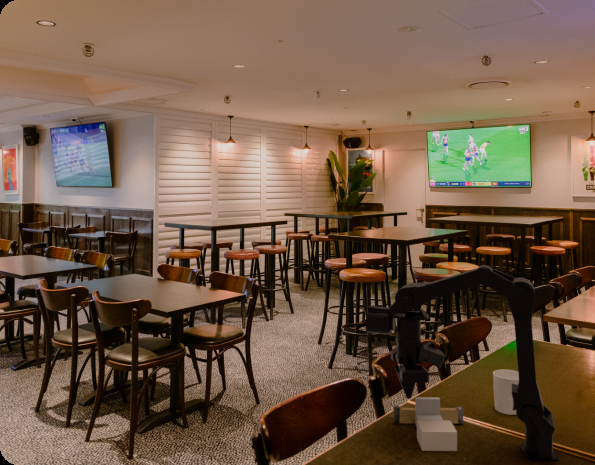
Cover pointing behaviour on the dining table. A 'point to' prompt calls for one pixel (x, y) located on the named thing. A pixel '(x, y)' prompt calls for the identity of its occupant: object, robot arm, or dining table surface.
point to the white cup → (504, 390)
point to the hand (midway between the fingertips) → (408, 398)
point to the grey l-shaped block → (427, 409)
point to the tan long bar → (446, 413)
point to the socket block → (436, 435)
